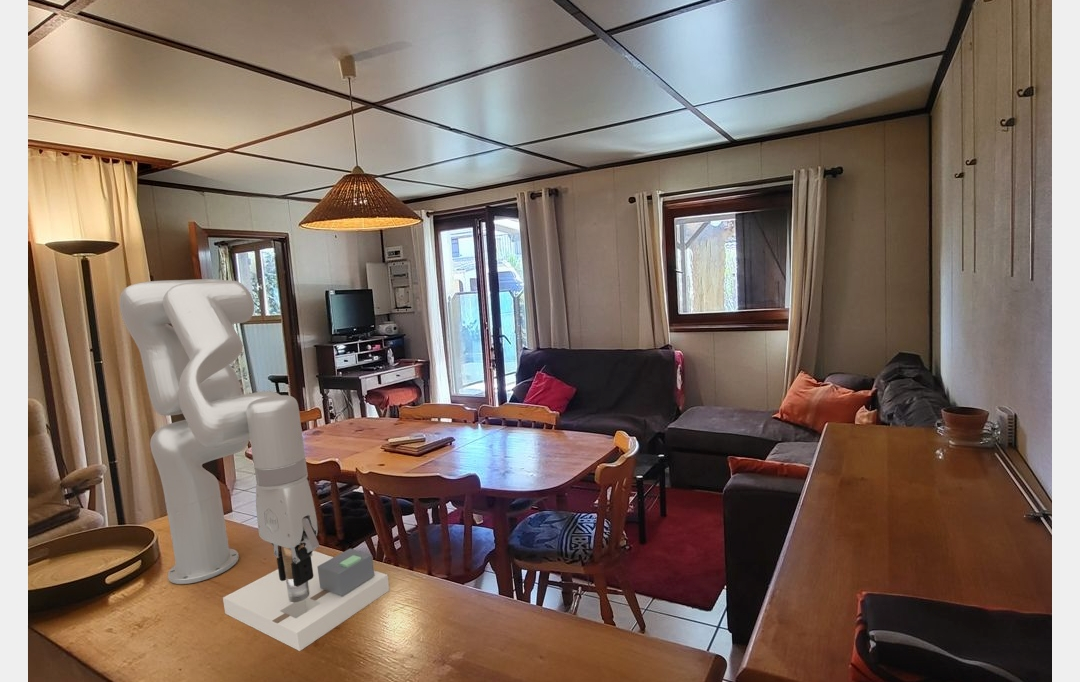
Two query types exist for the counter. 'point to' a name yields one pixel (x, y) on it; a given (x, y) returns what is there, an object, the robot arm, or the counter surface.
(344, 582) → the block
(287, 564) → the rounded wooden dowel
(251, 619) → the white flat rectangular board
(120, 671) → the counter surface
